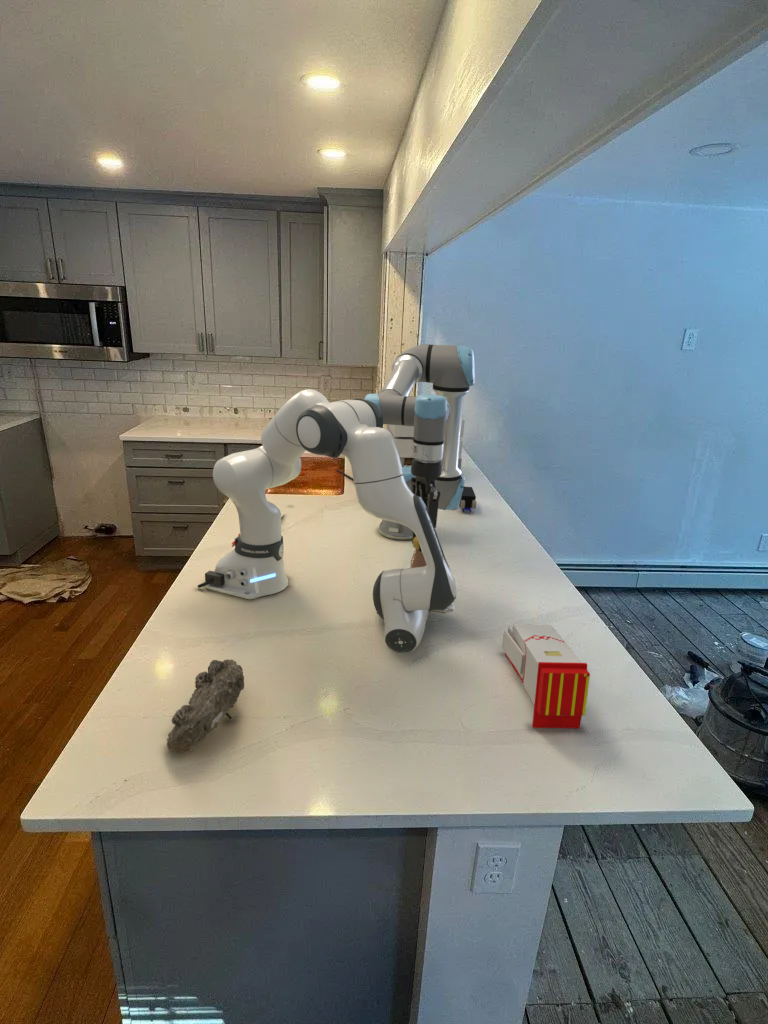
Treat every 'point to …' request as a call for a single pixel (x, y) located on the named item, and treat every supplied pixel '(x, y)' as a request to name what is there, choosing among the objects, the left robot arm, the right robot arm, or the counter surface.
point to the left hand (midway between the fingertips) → (418, 582)
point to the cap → (415, 543)
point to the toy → (548, 674)
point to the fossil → (206, 705)
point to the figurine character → (468, 499)
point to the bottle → (418, 559)
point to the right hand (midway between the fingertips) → (420, 546)
